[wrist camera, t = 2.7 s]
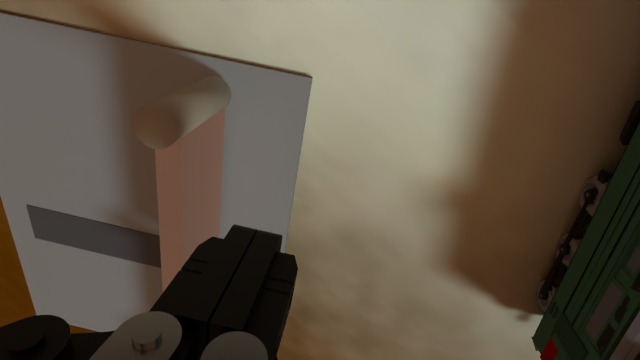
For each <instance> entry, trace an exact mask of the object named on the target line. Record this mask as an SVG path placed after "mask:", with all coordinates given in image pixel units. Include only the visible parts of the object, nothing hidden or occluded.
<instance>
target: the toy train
mask: <svg viewBox="0 0 640 360" xmlns="http://www.w3.org/2000/svg"><path fill="white" fill-rule="evenodd" d="M620 141H621V143H622V145H628V146H627V148H626V150H625V152H624V154H623V156H622V158H621V160H620V161H619V163H618V165H617V167H616V169H615V171H614V173H613V175H612V177H611V179H609V176H610V174H611V173H610V172H607V171H605V170H602V171H601V173H600V175H599V177H598V176H593V177H592V178H590V179H588V180H586V181H585V183H584V184H583V187H582V191H581V196H580V200H579V204H580V205H581V206H582V209H581V211H580V213H579V214H578V216H577V218H576V220H575V222H574V224H573V226H572V228H571V230H570V232H569V233H566V234H564V235H561V237H560V239H559V244H558V249H557V253H556V260H555V262H554V264H553V266H552V268H551V270H550V272H549V274H548V276H547V278H546V280H543V281H540V283H539V284H538V288H537V295H536V299H537V302H538V304H539V307H540V309H541V310H542V311H544V312H545V314H544V316H543V318H542V320H541V322H540V324H539V326H538V328H537V330H536V332H535V334H534V336H533V337H532V340H533V343H534V346H535V349H536V351H539V352H540V354H541V356H540V358H541V360H640V101H638V100H637V102H636V104H635V105H634V107H633V109H632V111H631V113H630V115H629V117H628V119H627V122H626V124H625V126H624V128H623V130H622V133H621V135H620ZM591 216H592V219H591V221H590V218H591ZM589 221H590V223H589ZM582 234H583V237H582ZM581 237H582V239H581ZM566 266H567V267H568V268H567V270H566V272H565V274H564V273H563V272H564V270H565V267H566Z"/></svg>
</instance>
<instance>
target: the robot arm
mask: <svg viewBox="0 0 640 360" xmlns="http://www.w3.org/2000/svg"><path fill="white" fill-rule="evenodd" d="M281 244H282V235H280V234H275V233H271V232H267V231H262V230H258V229H253V228H249V227H245V226H240V225H236V224H234V225H233V226H232V227H231V229H230V230H229V232H228V233H227V235H226V236H225V238H224V239H222V238H217V237H211V238H209V239H208V240H206V241H204V242H203V243H201V244H199V245H198V246H197V248H196V249H195V250H194V252H193V253H192V254H191V256H190V257H189V260H187V261H186V262H185V264H184V265H183V266H182V268H181V270H179V272H178V273H177V274H176V276H175V277H174V278H173V280H172V281H171V282H170V284H169V285H168V286H167V288H166V289H165V290H164V292H163V293H162V295H161V296H160V297H159V299H158V300H157V301H156V303H155V304H154V305H153V307H152V308H151V309H150V310H149V312H145V313H141V314H138V315H136V316H133V317H131V318H130V319H128V320H126V321H125V322H124V323H122V324H121V325H120V326H119V327H118V328H117V329H116V330H114V331H108V332H94V333H74V334H71V332H70V327H69V325H68V323H67V322H66V321H65V320H64V319H62V318H61V317H58V316H54V315H36V316H32V317H27V318H24V319H21V320H18V321H16V322H13V323H10V324H8V325H5V326H2V327H0V360H278V359H277V352H278V349H279V345H280V342H281V338H282V335H283V331H284V328H285V324H286V320H287V317H288V313H289V310H290V306H291V301H292V296H293V291H294V286H295V281H296V276H297V270H298V267H297V263H296V260H295V256H294V255H290V254H286V253H282V252H280V251H281Z"/></svg>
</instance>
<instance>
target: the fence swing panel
mask: <svg viewBox="0 0 640 360" xmlns="http://www.w3.org/2000/svg"><path fill="white" fill-rule="evenodd" d="M230 100H231V90H230V87H229V85H228V84H227V83H226V82H225V81H224V80H223V79H222V78H220V77H217V76H208V77H206V78H203V79H201V80H199V81H197V82H195V83H192V84H190V85H188V86H186V87H183V88H181V89H179V90H177V91H174V92H172V93H170V94H168V95H166V96H163V97H161V98H159V99H157V100H154V101H152V102H150V103H148V104H146V105H143V106H141V107H139V108H138V109H136V110H135V112H134V113H133V115H132V128H133V131H134V133H135V135H136V136H137V138H138V139H139V140H140V141H141V142H142V143H143V144H145V145H146V146H148V147H150V148H153V149H155V161H156V179H157V197H158V216H159V234H160V253H161V271H162V290H163V292H164V290H165V289H166V288H167V286H168V285H169V284H170V282H171V281H172V280H173V278H174V277H175V276H176V274H177V273H178V272H179V270H181V268H182V266H183V265H184V264H185V262H186V261H187V260H189V257H190V256H191V254H192V253H193V252H194V250H195V249H196V248H197V246H198V245H199V244H201V243H203V242H204V241H206V240H208V239H209V238H211V237H217V238H219V233H220V212H221V191H222V169H223V148H224V127H225V107H226V106H227V105H228V104H229V103H230Z"/></svg>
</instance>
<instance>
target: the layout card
mask: <svg viewBox="0 0 640 360" xmlns="http://www.w3.org/2000/svg"><path fill="white" fill-rule="evenodd" d="M208 76H217V77H220V78H222V79H223V80H224V81H225V82H226V83H227V84H228V85H229V87H230V90H231V100H230V103H229V104H228V105H227V106H226V107H225V127H224V148H223V169H222V191H221V212H220V233H219V238H222V239H224V238H225V236H226V235H227V233H228V232H229V230H230V229H231V227H232V226H233V225H234V224H236V225H240V226H245V227H249V228H253V229H258V230H262V231H267V232H271V233H275V234H280V235H282V244H281V251H280V252H282V253H284V251H285V245H286V239H287V233H288V226H289V220H290V214H291V208H292V202H293V195H294V189H295V183H296V177H297V171H298V164H299V158H300V152H301V146H302V139H303V133H304V127H305V121H306V115H307V108H308V102H309V96H310V90H311V84H312V77H309V76H304V75H299V74H294V73H290V72H285V71H280V70H275V69H271V68H266V67H261V66H256V65H251V64H247V63H242V62H237V61H232V60H228V59H223V58H218V57H213V56H209V55H204V54H199V53H194V52H190V51H185V50H180V49H175V48H170V47H166V46H161V45H156V44H151V43H147V42H142V41H137V40H132V39H128V38H123V37H118V36H113V35H108V34H104V33H99V32H94V31H89V30H85V29H80V28H75V27H70V26H66V25H61V24H56V23H51V22H47V21H42V20H37V19H32V18H27V17H23V16H18V15H13V14H8V13H4V12H0V196H1V199H2V202H3V206H4V209H5V212H6V216H7V219H8V222H9V226H10V229H11V232H12V235H13V239H14V242H15V245H16V249H17V252H18V255H19V259H20V262H21V265H22V268H23V272H24V275H25V278H26V282H27V285H28V288H29V292H30V295H31V298H32V301H33V305H34V308H35V311H36V315H54V316H58V317H61V318H62V319H64V320H65V321H66V322H67V323H68V324H70V325H74V326H78V327H82V328H86V329H90V330H94V331H98V332H108V331H114V330H116V329H117V328H118V327H119V326H120V325H121V324H122V323H124V322H125V321H126V320H128V319H130V318H131V317H133V316H136V315H138V314H141V313H145V312H149V310H150V309H151V308H152V307H153V305H154V304H155V303H156V301H157V300H158V299H159V297H160V296H161V295H162V293H163V290H162V271H161V253H160V234H159V216H158V197H157V179H156V161H155V149H153V148H150V147H148V146H146V145H145V144H143V143H142V142H141V141H140V140H139V139H138V138H137V136H136V135H135V133H134V131H133V128H132V115H133V113H134V112H135V110H136V109H138V108H139V107H141V106H143V105H146V104H148V103H150V102H152V101H154V100H157V99H159V98H161V97H163V96H166V95H168V94H170V93H172V92H174V91H177V90H179V89H181V88H183V87H186V86H188V85H190V84H192V83H195V82H197V81H199V80H201V79H203V78H206V77H208Z"/></svg>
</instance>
